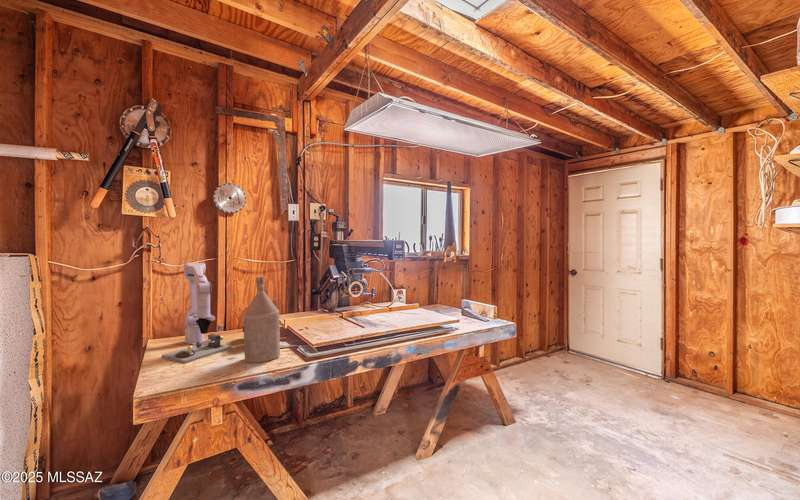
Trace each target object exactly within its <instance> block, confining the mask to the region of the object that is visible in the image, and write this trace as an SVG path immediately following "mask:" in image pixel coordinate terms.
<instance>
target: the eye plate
mask: <svg viewBox="0 0 800 500" xmlns="http://www.w3.org/2000/svg"><path fill="white" fill-rule="evenodd" d="M220 336H221V335H220V334H216V333H215V334H214V333H211V334H208V335H207V340H209V339H213V338H214V342H213V343H210V344H208V345H205V346H206V347H211V348H215V349H217V348H220V347H223V345H224V344H223V345H220V344H221V340H220Z"/></svg>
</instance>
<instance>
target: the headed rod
mask: <svg viewBox="0 0 800 500" xmlns="http://www.w3.org/2000/svg"><path fill="white" fill-rule="evenodd" d="M223 339H224V336H222V335H220V341H222V340H223ZM205 340H206V341H202V342H200V341H199V342H196V344H195V345H196V347H197V348H199V347H201V346H203V345H206V344H210V343H213V342H214V338H213V339H209V340H208V339H205Z"/></svg>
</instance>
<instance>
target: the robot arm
mask: <svg viewBox="0 0 800 500" xmlns="http://www.w3.org/2000/svg"><path fill="white" fill-rule="evenodd" d="M206 269H207V266H206V263H205V262H203V261H202V262H189V263H188V262H185V263H184V264H183V274H184V275H183V277H184V279H186V280H188V283H189V297H190V309H189V310H187V311H186V313H185V316H184V317H185V318H184V321H185V322H184V323H185V327H186V328H185V330H184V341H183V344H184V343H185V344H189V345H192V346H195V345H196V342H199V341H200V342H202V341H206V340H207V339H205V334H208V330H209V327H210V324H211V323H212V321H216V316H214V315H213V314H211V294H212V291H213V289H212V286H213V285H212V283H211V281H209V280H208V279H207V276H206V275H205V273H206Z"/></svg>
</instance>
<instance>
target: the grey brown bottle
mask: <svg viewBox="0 0 800 500" xmlns="http://www.w3.org/2000/svg"><path fill="white" fill-rule="evenodd" d="M255 282H256V291H257V292H256V294H255V296H254V298H253V299H252V300H251V303H250V304H249V306H248V307H247V309H246V310H245V312H244V313H243V314H242V319H243V321H244V323H243V325H244V332H243V346H244V348H243V349H244V361H245V362H246V363H249V364H250V363H251V364H253V363H255V364H256V363H263V362H269V361H272V360H275V359H277V358H278V357H280V356H281V343H280V342H281V341H280V340H281V339H280V338H281V333H280V331H281V329H280V309H278V308H280V306H281V305H282V300H281V298H279V297H274V298H273V299H272V300H271V299H270V297H269V296H268V295H267V294H268V293H269V289H268V285H269V283H268V282H266V283H264V282H265V275H259V276H255ZM266 285H267V286H266ZM264 287H266V288H264ZM275 300H279V305H278V306H277V305H276V304H275V303H274V301H275Z"/></svg>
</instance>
